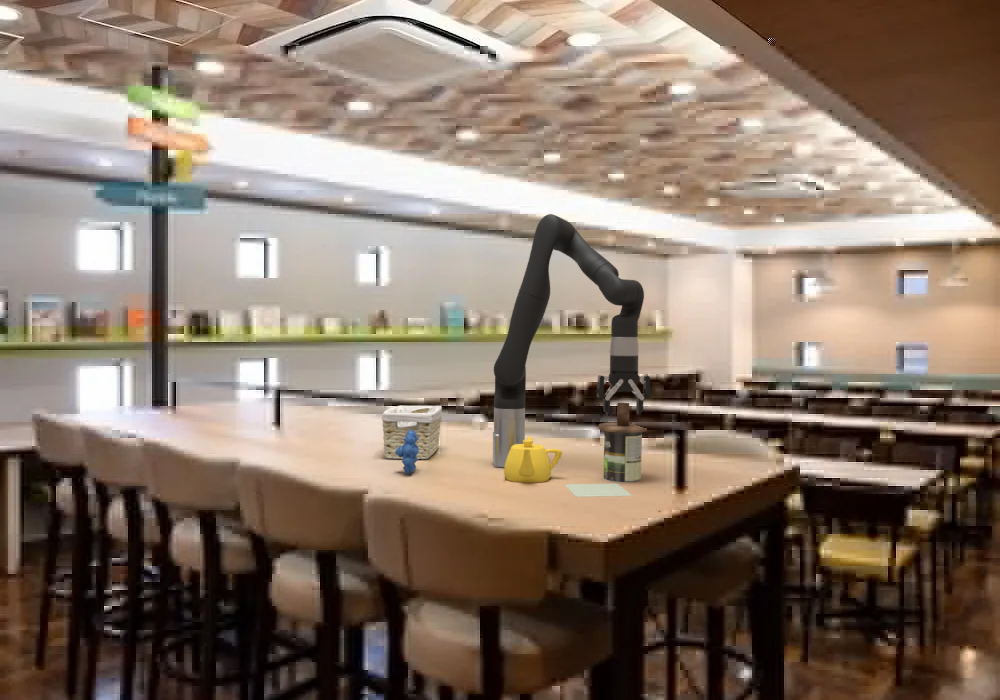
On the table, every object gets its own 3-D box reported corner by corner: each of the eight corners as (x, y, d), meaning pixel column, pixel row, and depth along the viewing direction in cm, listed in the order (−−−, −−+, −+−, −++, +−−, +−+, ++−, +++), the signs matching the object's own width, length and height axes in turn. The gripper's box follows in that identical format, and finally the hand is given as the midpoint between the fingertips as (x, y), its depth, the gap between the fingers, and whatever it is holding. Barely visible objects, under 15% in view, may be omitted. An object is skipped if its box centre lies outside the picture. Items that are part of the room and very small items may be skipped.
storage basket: (395, 447, 257) (395, 404, 257) (443, 448, 256) (443, 404, 256) (380, 460, 233) (380, 412, 233) (432, 461, 232) (432, 413, 232)
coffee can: (605, 484, 200) (606, 431, 200) (601, 476, 211) (602, 426, 210) (644, 485, 200) (645, 432, 200) (638, 477, 210) (639, 426, 210)
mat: (575, 499, 184) (575, 496, 184) (564, 486, 198) (564, 484, 198) (632, 498, 185) (632, 495, 185) (617, 485, 199) (617, 483, 199)
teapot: (561, 489, 194) (562, 447, 194) (501, 488, 196) (501, 446, 195) (561, 472, 216) (561, 434, 216) (506, 471, 217) (507, 433, 217)
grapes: (398, 468, 220) (399, 427, 220) (422, 468, 220) (422, 427, 219) (391, 476, 209) (391, 433, 208) (415, 477, 208) (415, 433, 208)
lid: (605, 432, 198) (606, 406, 197) (593, 426, 211) (593, 400, 210) (654, 432, 199) (654, 405, 199) (639, 425, 212) (639, 400, 212)
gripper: (601, 354, 200) (600, 416, 200) (654, 354, 201) (653, 415, 202) (594, 353, 207) (594, 412, 208) (645, 353, 209) (644, 412, 209)
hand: (623, 414), depth 205 cm, fingers open, 8 cm apart
